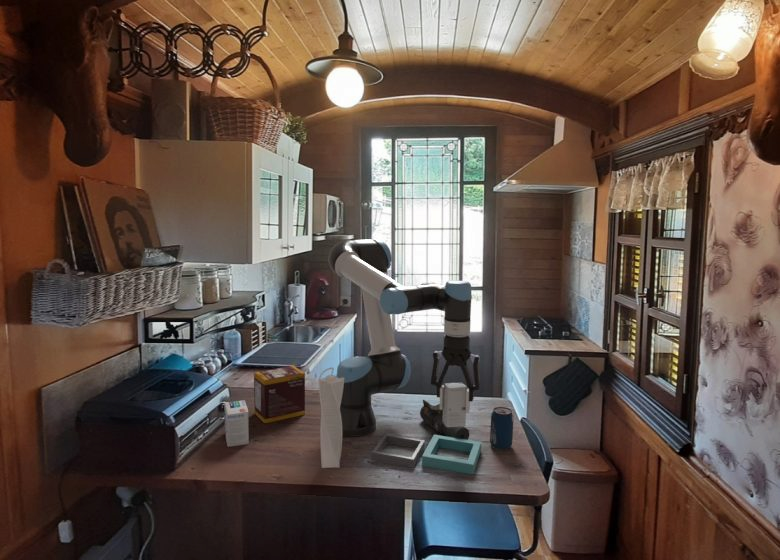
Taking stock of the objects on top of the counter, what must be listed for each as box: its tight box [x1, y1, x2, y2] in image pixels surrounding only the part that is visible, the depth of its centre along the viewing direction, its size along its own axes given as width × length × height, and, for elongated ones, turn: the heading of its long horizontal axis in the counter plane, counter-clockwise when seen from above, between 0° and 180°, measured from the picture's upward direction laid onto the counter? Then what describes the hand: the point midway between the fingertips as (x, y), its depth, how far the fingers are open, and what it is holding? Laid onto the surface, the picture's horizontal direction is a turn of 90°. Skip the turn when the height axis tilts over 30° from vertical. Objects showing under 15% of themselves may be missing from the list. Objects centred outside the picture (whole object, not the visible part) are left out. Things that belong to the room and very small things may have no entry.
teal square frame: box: [421, 434, 482, 476], centre depth 157 cm, size 15×15×3 cm
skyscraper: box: [317, 367, 344, 469], centre depth 151 cm, size 8×8×28 cm
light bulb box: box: [223, 399, 250, 448], centre depth 166 cm, size 11×7×11 cm, turn 22°
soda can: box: [489, 406, 514, 451], centre depth 164 cm, size 7×7×12 cm
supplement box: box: [253, 365, 306, 424], centre depth 186 cm, size 10×15×16 cm
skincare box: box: [442, 382, 468, 427], centre depth 154 cm, size 6×4×12 cm
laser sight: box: [419, 399, 470, 440], centre depth 175 cm, size 10×22×10 cm, turn 27°
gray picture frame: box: [370, 433, 426, 468], centre depth 159 cm, size 13×13×2 cm
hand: (454, 409), depth 154 cm, fingers closed on skincare box, 7 cm apart
